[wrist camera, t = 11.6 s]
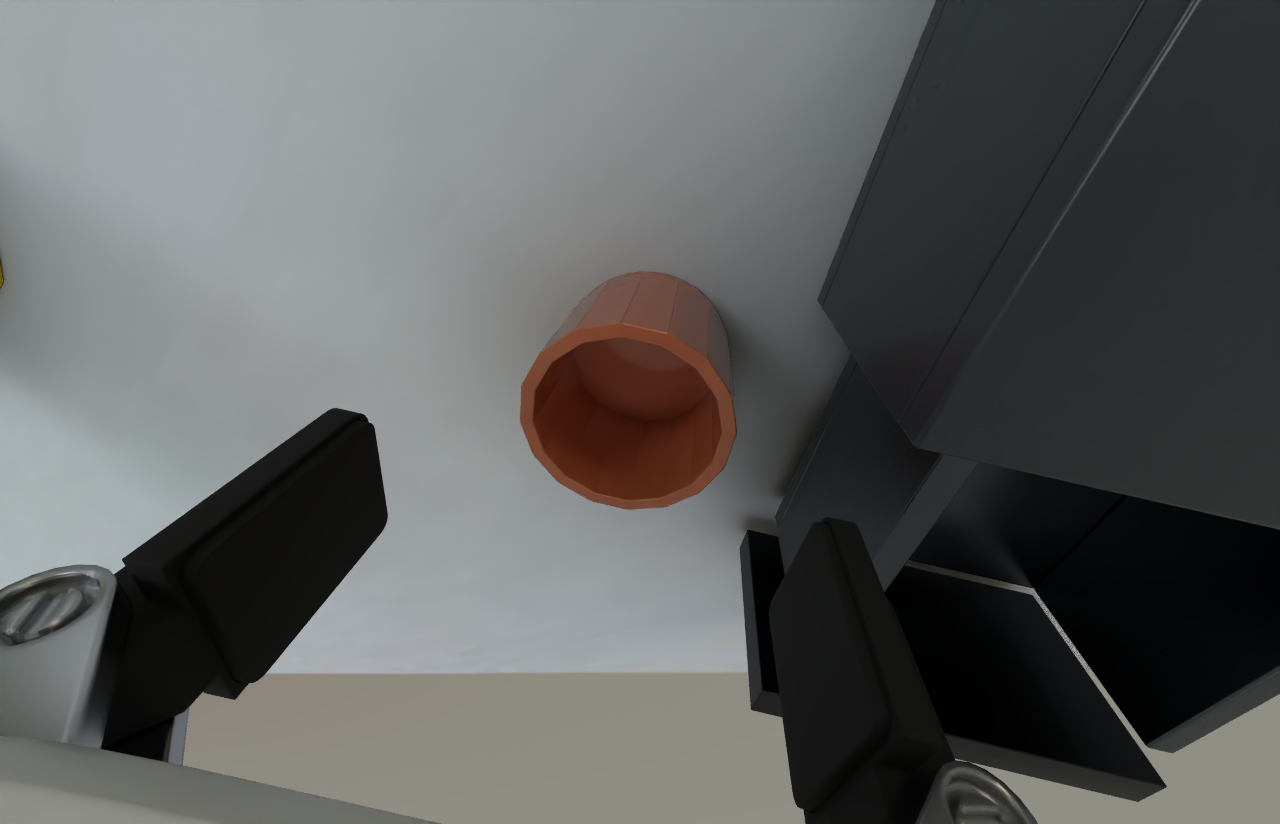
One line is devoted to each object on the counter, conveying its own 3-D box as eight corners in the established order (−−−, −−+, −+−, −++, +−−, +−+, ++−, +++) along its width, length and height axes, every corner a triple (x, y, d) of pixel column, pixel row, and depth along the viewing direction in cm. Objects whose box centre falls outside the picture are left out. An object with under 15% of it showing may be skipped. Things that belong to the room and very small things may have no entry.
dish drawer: (955, 671, 23) (1038, 853, 17) (710, 613, 23) (710, 774, 17) (1339, 291, 12) (1880, 424, 7) (891, 195, 13) (1042, 243, 7)
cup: (750, 292, 15) (765, 354, 11) (705, 435, 19) (703, 527, 14) (577, 254, 16) (524, 300, 11) (562, 402, 19) (516, 484, 14)
